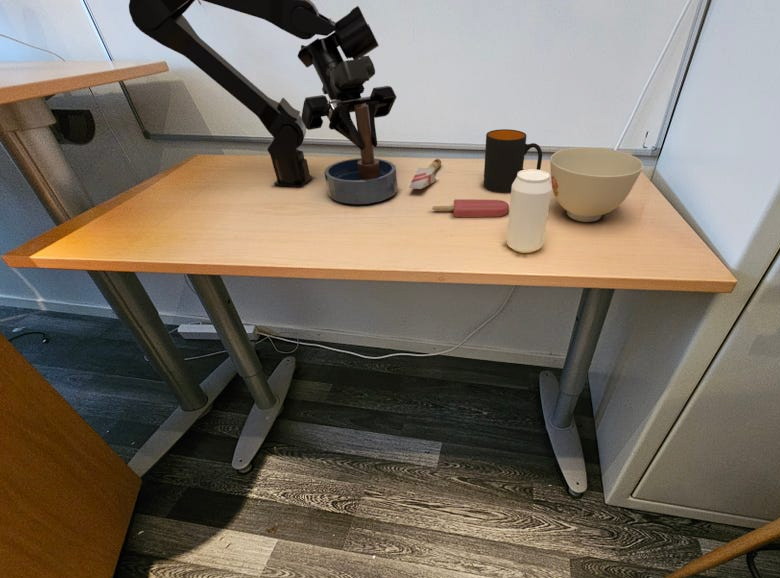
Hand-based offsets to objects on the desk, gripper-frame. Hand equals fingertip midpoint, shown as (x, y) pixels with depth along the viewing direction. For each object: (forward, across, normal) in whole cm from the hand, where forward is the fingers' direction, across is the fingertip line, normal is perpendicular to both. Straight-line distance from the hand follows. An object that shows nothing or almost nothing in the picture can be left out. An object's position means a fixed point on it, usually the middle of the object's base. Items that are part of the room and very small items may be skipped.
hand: (369, 147), depth 82 cm
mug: (+17, +26, -3) cm, 31 cm away
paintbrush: (+7, +14, +7) cm, 17 cm away
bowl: (+31, +26, -17) cm, 44 cm away
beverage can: (+32, +8, -19) cm, 38 cm away
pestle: (+4, 0, +6) cm, 7 cm away
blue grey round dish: (+5, -1, +9) cm, 10 cm away
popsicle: (+20, +10, -7) cm, 24 cm away
